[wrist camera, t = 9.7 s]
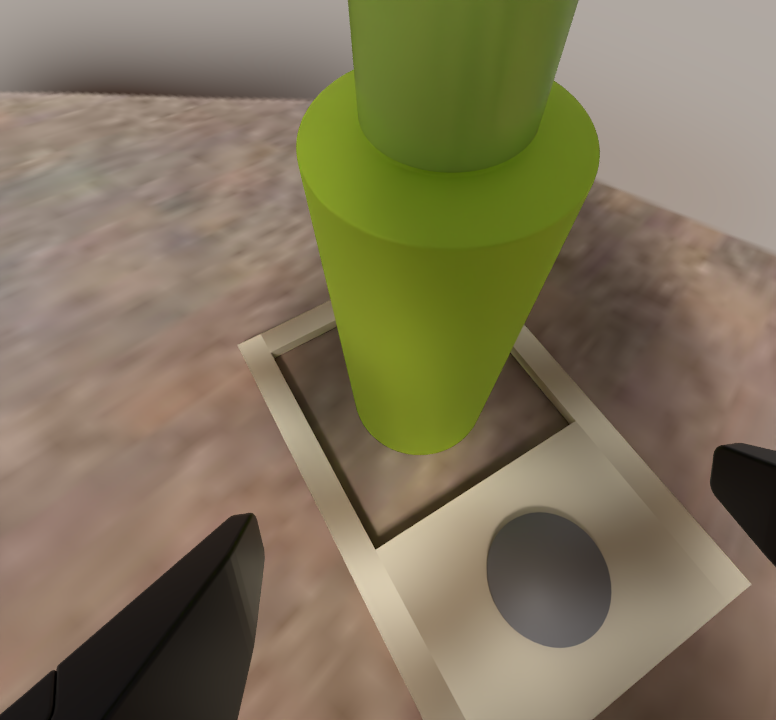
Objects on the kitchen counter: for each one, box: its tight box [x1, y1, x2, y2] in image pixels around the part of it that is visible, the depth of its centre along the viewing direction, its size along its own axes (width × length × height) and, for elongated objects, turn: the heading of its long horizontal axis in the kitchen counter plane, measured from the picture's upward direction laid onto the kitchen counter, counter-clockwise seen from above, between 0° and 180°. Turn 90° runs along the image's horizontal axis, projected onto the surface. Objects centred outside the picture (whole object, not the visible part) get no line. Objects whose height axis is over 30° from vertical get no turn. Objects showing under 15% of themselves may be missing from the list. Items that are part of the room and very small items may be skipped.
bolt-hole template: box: [238, 300, 751, 720], centre depth 18 cm, size 19×12×1 cm, turn 31°
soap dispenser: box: [296, 0, 600, 455], centre depth 11 cm, size 6×7×20 cm
